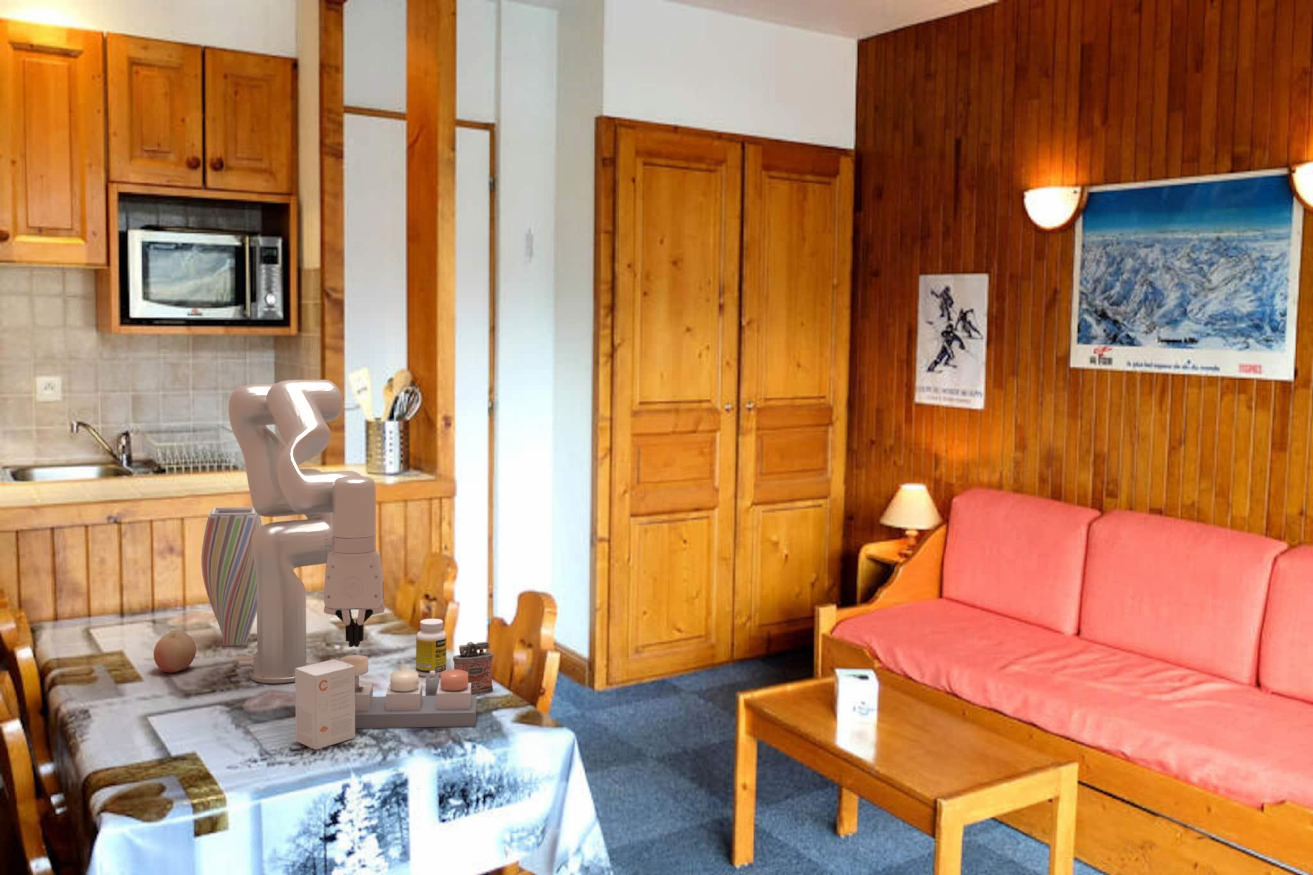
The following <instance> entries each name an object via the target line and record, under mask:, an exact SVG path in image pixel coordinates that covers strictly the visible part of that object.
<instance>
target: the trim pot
mask: <svg viewBox="0 0 1313 875" xmlns="http://www.w3.org/2000/svg"><path fill="white" fill-rule="evenodd" d="M439 683H440V676H436V675H435V671H434V670H432V671H430V676H427V677H425V692H424V693H425V694H424V696H437V689H438V684H439Z"/></svg>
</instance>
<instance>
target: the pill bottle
mask: <svg viewBox="0 0 1313 875" xmlns="http://www.w3.org/2000/svg"><path fill="white" fill-rule="evenodd" d="M419 628H420V631H418V632H417V634H416V636H415V637H416V638H415V643H416V644H415V648H416V649H415V671H416V672H418V676H419V677H425V678H426V677H427V676H430V671H432V670H434V671H435V675H436V676H439V677H441V672H443V671H446V670H447V642H448V641H447V640H448V639H447V632H445V631H444V630H443V628H444V621H443V620H442V619H440V618H425V619H422V620H420V622H419Z"/></svg>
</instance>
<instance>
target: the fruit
mask: <svg viewBox="0 0 1313 875" xmlns="http://www.w3.org/2000/svg"><path fill="white" fill-rule="evenodd" d="M196 645H197V644H196V642H195V641H194V638H193V637H192V636H191V635H189V634H188V633H186V632H185V631H182V630H174V631H170V632H168V633H166V634H164V635H163V636H162V637H161V638H160V639H159V640H158V641H157V643H156V644H155V646H154V649H153V660H154V662H155V664H156V665H157V667H158V668H159V669H160V670H161V671H163V672H164V673H170V674H172V673H177V672H181V671H184V670H186V669H187V668H188V667H190V665H191V664H192V663H193V661H194V659H195V657H196V654H197V646H196Z"/></svg>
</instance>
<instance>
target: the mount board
mask: <svg viewBox="0 0 1313 875" xmlns="http://www.w3.org/2000/svg"><path fill="white" fill-rule="evenodd" d="M373 690H374V684H370V683H369V684H367V683H366V684H360V683H359V688H358V689H355V729H384V728H385V729H391V728H393V729H394V728H395V729H396V728H432V727H433V728H439V727H440V728H443V727H446V728H447V727H448V728H449V727H450V728H451V727H475V726H476V719H477V706H478V705H477V701H478V700H477V699H478V698H477V697H478V695H471V683H468V687H467V688H465V689H462V690H459V691H449V690H444V689H442V688H441V687H440V682H439V684H438V689H437V696H425V695H423V683H418V688H417V689H415V690H411V691H400V692H399V691H395V690H392V689H391V688H390V683H389V684H388V687H387V689H386V693H385V696H374V691H373Z"/></svg>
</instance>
